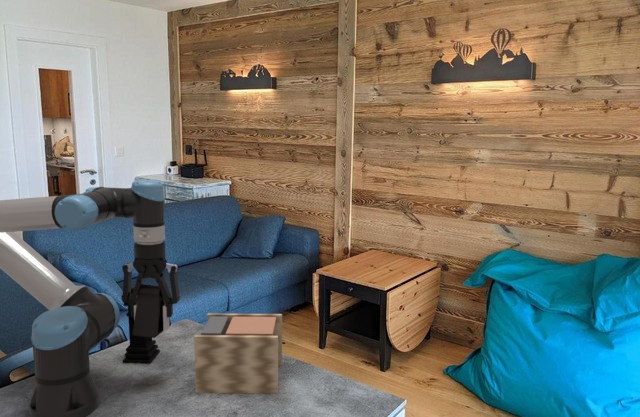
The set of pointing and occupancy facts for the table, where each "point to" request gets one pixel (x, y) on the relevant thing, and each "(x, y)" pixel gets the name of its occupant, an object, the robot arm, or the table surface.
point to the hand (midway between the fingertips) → (152, 328)
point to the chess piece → (139, 344)
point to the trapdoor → (240, 326)
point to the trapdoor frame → (238, 360)
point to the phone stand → (149, 312)
